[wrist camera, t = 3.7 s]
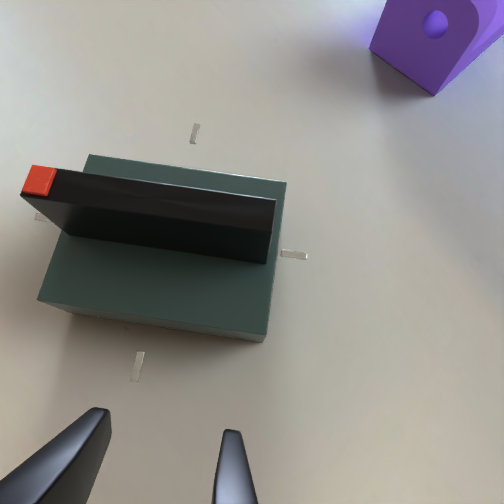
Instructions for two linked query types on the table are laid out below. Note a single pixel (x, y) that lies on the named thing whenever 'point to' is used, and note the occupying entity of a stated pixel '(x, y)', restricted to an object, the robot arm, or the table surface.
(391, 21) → the bracket
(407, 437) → the table surface
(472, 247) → the table surface
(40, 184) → the black bar
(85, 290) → the dark green flat block
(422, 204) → the table surface
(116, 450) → the table surface
